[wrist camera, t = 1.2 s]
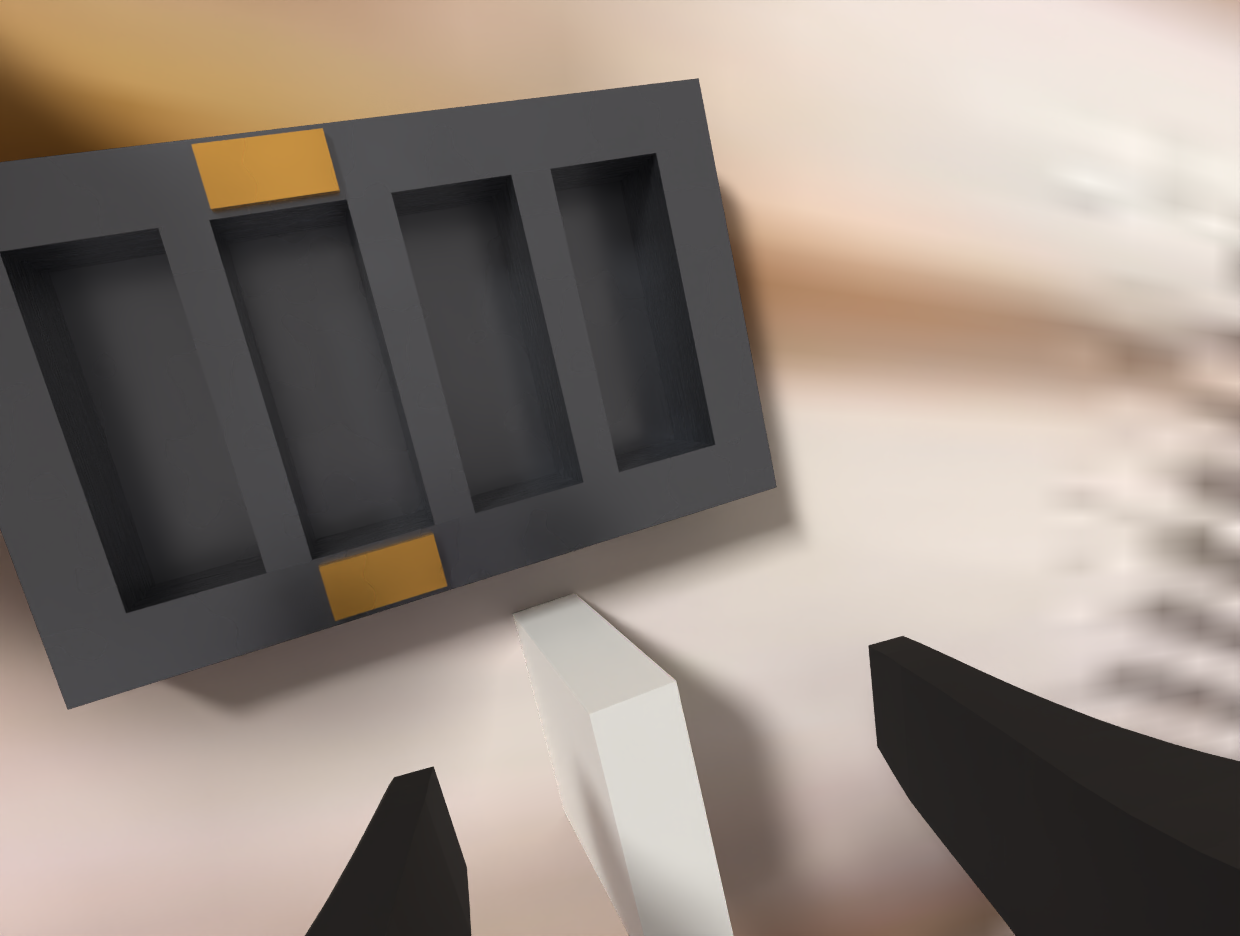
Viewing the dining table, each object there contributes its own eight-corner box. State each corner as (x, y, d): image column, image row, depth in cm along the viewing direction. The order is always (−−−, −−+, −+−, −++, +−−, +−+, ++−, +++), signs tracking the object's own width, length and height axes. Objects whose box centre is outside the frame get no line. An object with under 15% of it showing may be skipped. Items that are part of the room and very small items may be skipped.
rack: (722, 475, 23) (780, 488, 20) (111, 659, 18) (64, 713, 15) (650, 121, 21) (702, 74, 18) (-47, 216, 16) (-138, 174, 13)
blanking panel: (621, 785, 22) (736, 947, 16) (563, 810, 22) (657, 988, 15) (574, 592, 21) (676, 680, 15) (512, 613, 21) (589, 714, 14)
